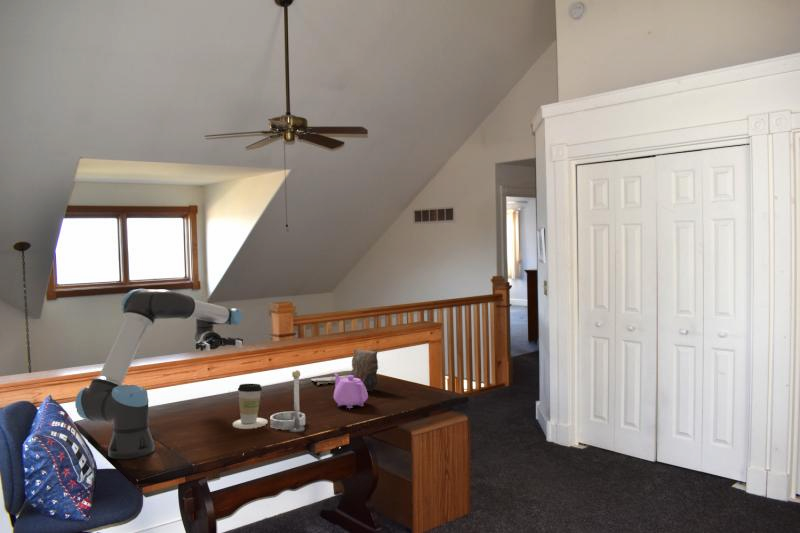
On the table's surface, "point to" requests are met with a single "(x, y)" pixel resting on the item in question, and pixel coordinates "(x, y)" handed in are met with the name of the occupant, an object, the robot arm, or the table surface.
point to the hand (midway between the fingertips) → (225, 346)
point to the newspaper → (327, 380)
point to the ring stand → (290, 413)
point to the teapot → (350, 391)
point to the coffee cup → (249, 402)
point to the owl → (365, 367)
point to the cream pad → (250, 424)
